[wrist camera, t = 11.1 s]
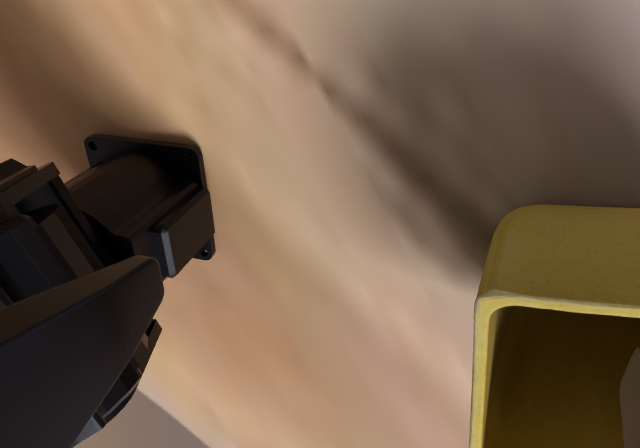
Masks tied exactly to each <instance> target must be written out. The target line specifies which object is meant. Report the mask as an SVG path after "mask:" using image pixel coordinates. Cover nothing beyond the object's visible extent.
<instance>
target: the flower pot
mask: <svg viewBox="0 0 640 448" xmlns="http://www.w3.org/2000/svg"><path fill="white" fill-rule="evenodd" d="M639 347H640V208H620V207H593V206H570V205H550V204H540V205H528V206H523V207H519V208H517V209H515V210H513V211H511V212H510V213H508V214H507V215H506V216H505V217H504V218H503V219H502V220H501V221H500V223H499V224H498V226H497V228H496V230H495V232H494V235H493V237H492V241H491V244H490V248H489V251H488V255H487V259H486V263H485V266H484V270H483V274H482V278H481V282H480V286H479V290H478V294H477V297H476V301H475V306H474V344H473V377H472V396H471V417H470V438H469V448H624V437H623V427H622V416H621V405H620V384H621V380H622V378H623V375H624V373H625V371H626V368H627V366H628V364H629V361H630V359H631V357H632V355H633V352H634V351H635V350H636V349H637V348H639Z"/></svg>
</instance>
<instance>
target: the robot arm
mask: <svg viewBox="0 0 640 448" xmlns="http://www.w3.org/2000/svg"><path fill="white" fill-rule="evenodd" d="M94 143H95V144H96V145H97V147H96V146H95V145H94ZM84 144H85V149H86V152H87V156H88V160H89V164H90V168H89V169H87V170H86V171H84V172H82V173H81V174H79V175H77V176H76V177H74V178H72V179H71V180H69V181H68V182H66V183H63V181H62V180H61V178H60V177H59V174H60V172H59V171H58V169H57V168H56V166H55V165H54V163H53V162H51V163H48V164H46V165H43V166H41V167H38V168H36V166H35V165H33V166H25V165H23V164H22V163H20V162H18V161H16V160H14V159H12V158H11V159H9V160H6V161H4V162H2V163H0V448H73V447H74V446H75V445H76V444H78V443H80V442H81V441H83V440H85V439H86V438H88V437H90V436H91V435H93V434H94V433H96V432H98V431H99V430H101V429H102V428H103V427H104V426H105V425H106V424H107V423H108V422H109V421H110V420H112V419H113V418H114V417H115V416H116V415H117V414H118V413H119V412H120V411H121V410H122V409H123V408H124V407H125V405H126V404H127V403H128V401H129V400H130V399H131V397H132V396H133V394H134V392H135V390H136V388H137V386H138V384H139V381H140V379H141V377H142V374H143V372H144V370H145V368H146V365H147V363H148V361H149V358H150V356H151V354H152V352H153V349H154V347H155V345H156V342H157V340H158V338H159V335H160V333H161V331H162V328H161V326H160V325H159V323H158V322H157V320H156V319H153V317H154V315H155V313H156V311H157V309H158V307H159V305H160V304H161V302H162V299H163V296H164V286H163V281H164V280H165V279H166V278H167V277H169V278H173V277H175V276H176V275H177V274H178V273H179V272H180V271H181V270H182V269H183V267H184V266H185V265H186V264H187V263H188V262H189V261H190V260H191V259H192V258H196V259H201V260H209V259H211V258H212V256H213V255H214V254H215V243H214V235H213V234H214V233H215V229H214V221H213V214H212V206H211V199H210V192H209V190H208V189H207V184H206V177H205V170H204V163H203V156H202V153H201V151H200V150H199V148H197V147H196V146H193V145H187V144H178V143H169V142H160V141H152V140H143V139H134V138H125V137H117V136H108V135H99V134H93V135H91V136H89V137H87V138H86V139H85V141H84ZM189 153H190V154H192V155H193V157H194V159H191V158H190V156H189ZM204 249H205V250H207V252H205V251H204ZM620 405H621V416H622V427H623V437H624V448H640V347H639V348H637V349H636V350H635V351H634V352H633V355H632V357H631V359H630V361H629V364H628V366H627V368H626V371H625V373H624V375H623V378H622V380H621V384H620Z"/></svg>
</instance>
